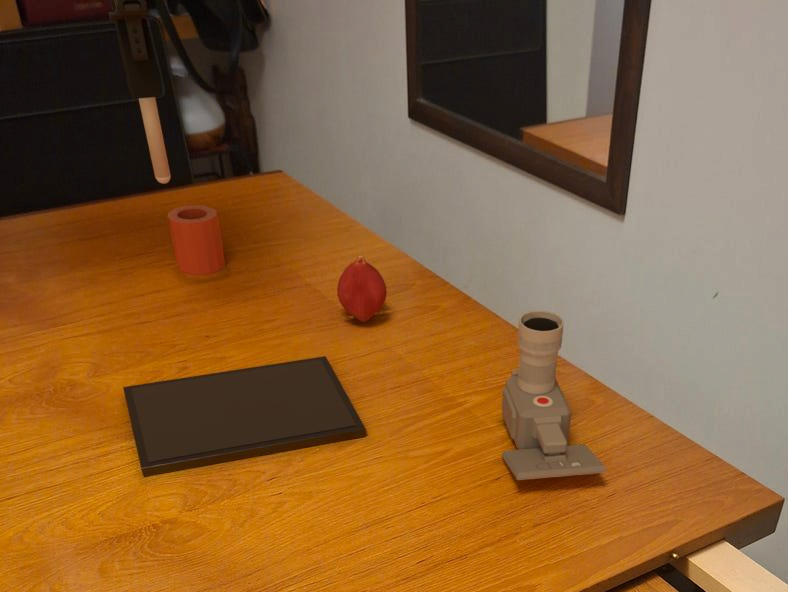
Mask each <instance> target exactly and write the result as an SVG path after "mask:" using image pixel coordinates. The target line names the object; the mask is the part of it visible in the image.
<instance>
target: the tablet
mask: <svg viewBox="0 0 788 592" xmlns="http://www.w3.org/2000/svg"><path fill="white" fill-rule="evenodd" d="M122 390H123V395H124V398H125V403H126V407H127V412H128V416H129V420H130V425H131V430H132V434H133V438H134V443H135V447H136V451H137V456H138V461H139V465H140V469H141V473H142V476H143V477H144V478H146V477H150V476H156V475H161V474H167V473H172V472H178V471H183V470H188V469H189V470H190V469H193V468H194V469H195V468H199V467H206V466H211V465H217V464H222V463H228V462H233V461H238V460H244V459H245V460H246V459H249V458H255V457H260V456H265V455H273V454H278V453H284V452H288V451H294V450H299V449H305V448H311V447H316V446H317V447H318V446H321V445H328V444H332V443H338V442H339V443H340V442H343V441H349V440H355V439H360V438H366V437H367V428H366V427H365V425H364V422H363V421H362V419H361V418H360V415H359V413H358V412H357V410H356V408H355V406H354V404H353V403H352V401H351V399H350V398H349V397H350V396H348V394H347V392H346V390H345V388H344V387H343V385H342V382H341V381H340V379H339V377H338V376H337V374H336V372H335V371H334V369H333V367H332V365H331V363H330V362H329V359H328V358H327V356H326V355H324V356H323V355H322V356H317V357H310V358H304V359H298V360H290V361H285V362H278V363H277V362H276V363H272V364H265V365H259V366H251V367H245V368H238V369H232V370H225V371H219V372H214V373H213V372H212V373H206V374H199V375H193V376H186V377H181V378H180V377H179V378H171V379H166V380H160V381H153V382H146V383H140V384H134V385H133V384H132V385H127V386H123V387H122Z"/></svg>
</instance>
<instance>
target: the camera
mask: <svg viewBox="0 0 788 592" xmlns="http://www.w3.org/2000/svg"><path fill="white" fill-rule="evenodd" d="M564 326H565V320H564V319H563V318H562V316H560V315H558V314H556V313H555V312H551V311H546V310H531V311H528V312H527V311H526V312H525V313H523V314H521V315H520V317H519V319H518V328H517V346H518V348H519V355H518V356H519V357H518V369H513V370H512V371H511V375H510V377H509V378H508V379H507V380H506V381H505V386H503V388H502V399H501V400H502V401H501V413H502V418H503V420H504V423H505V425H506V428H507V431H508V434H509V435H510V438H511V439H512V440H513V442H514V445H515V447H516V449H510V450H503V451H502V453H501V458H502V460H503V461H504V463H505V465H507V467H508V469H509V470H510V472H511V473H512V475H513V477H514V478H515V480H516V481H522V480H525V481H526V480H535V479H545V478H547V479H548V478H559V477H571V476H583V475H594V474H605V473H608V470H607V468H606V465H604V463H603V462H602V461H601V460H600V458H598V457H597V456H596V454H595V453H594V452H593V451H592V450H591V449H590V448H589V447H588V446H587V445H586V444H583V443H582V444H573V445H568V444H569V437H570V428H571V420H572V409H571V407H570V406H569V403H568V401H567V399H566V396H565V395H564V393H563V391H562V389H561V387H560V384H559V383H558V380H557V378H556V372H557V364H558V353H559V351H560V350H561V348H562V344H563V335H564V334H563V333H564Z"/></svg>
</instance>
